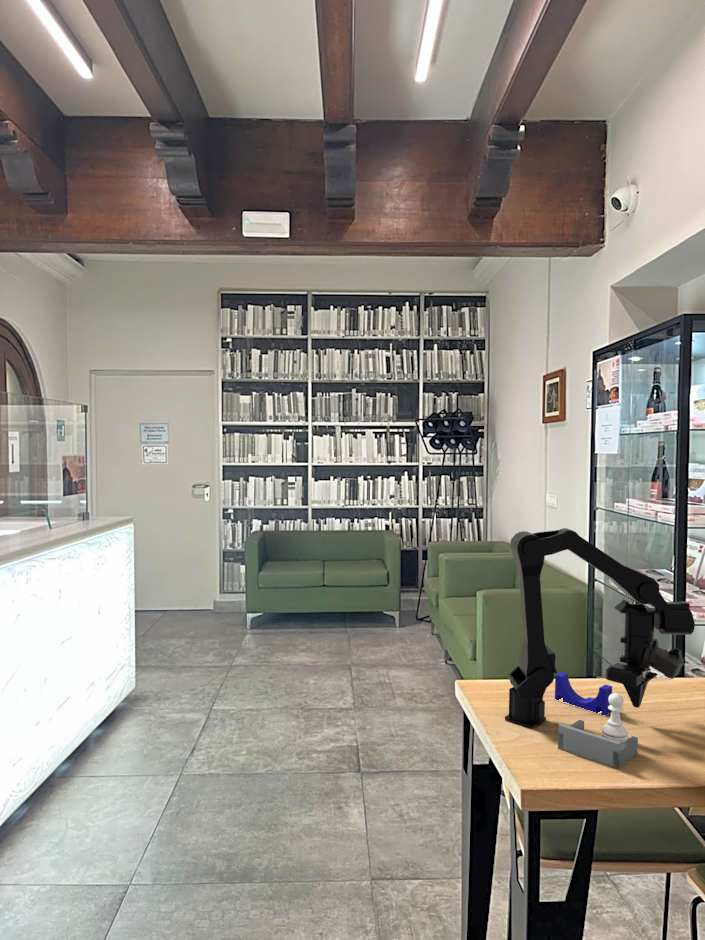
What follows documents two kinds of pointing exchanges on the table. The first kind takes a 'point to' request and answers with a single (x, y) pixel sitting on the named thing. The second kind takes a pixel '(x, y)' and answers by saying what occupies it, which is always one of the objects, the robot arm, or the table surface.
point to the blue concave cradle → (571, 697)
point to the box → (595, 745)
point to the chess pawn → (615, 720)
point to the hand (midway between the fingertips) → (636, 706)
